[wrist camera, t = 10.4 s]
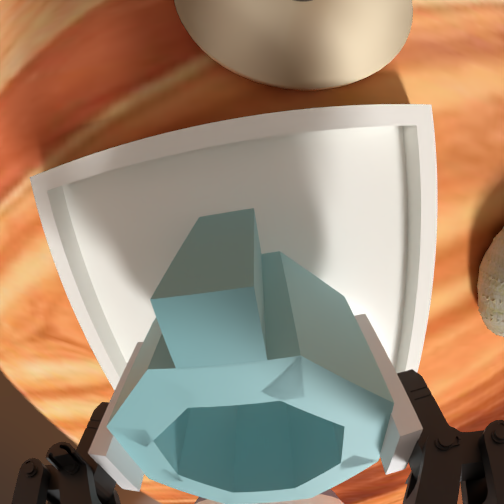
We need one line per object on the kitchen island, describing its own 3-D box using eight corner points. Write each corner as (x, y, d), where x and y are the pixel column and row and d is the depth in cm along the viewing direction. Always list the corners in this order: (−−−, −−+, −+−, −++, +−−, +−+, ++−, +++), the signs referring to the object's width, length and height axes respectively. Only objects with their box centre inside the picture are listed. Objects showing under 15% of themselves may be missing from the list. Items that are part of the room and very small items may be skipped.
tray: (151, 419, 22) (145, 438, 20) (51, 170, 15) (29, 177, 13) (399, 390, 21) (407, 408, 19) (411, 106, 13) (431, 104, 11)
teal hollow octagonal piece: (189, 407, 16) (171, 501, 10) (123, 231, 13) (37, 310, 6) (343, 390, 16) (369, 486, 10) (338, 196, 12) (414, 260, 6)
